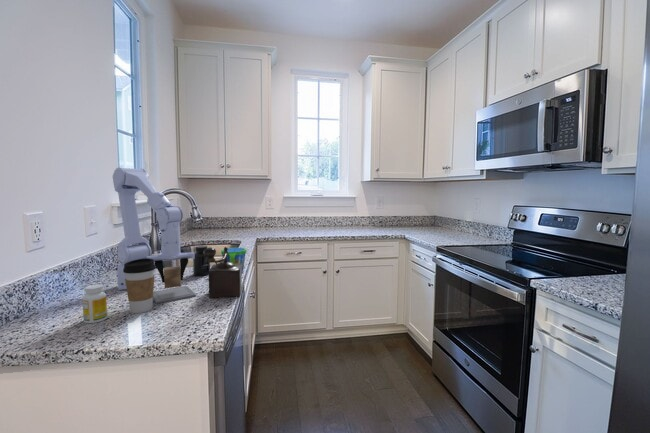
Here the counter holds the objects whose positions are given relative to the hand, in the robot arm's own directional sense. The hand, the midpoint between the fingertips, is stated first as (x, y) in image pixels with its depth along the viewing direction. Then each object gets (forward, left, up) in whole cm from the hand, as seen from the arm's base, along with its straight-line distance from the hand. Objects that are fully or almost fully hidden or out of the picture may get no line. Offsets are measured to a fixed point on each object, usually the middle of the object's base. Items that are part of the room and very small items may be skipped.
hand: (172, 280), depth 109 cm
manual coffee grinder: (+16, -8, -5) cm, 19 cm away
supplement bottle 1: (-20, -13, -5) cm, 24 cm away
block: (0, 0, -2) cm, 2 cm away
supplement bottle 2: (+12, +24, -5) cm, 27 cm away
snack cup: (+25, +21, -5) cm, 33 cm away
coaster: (0, 0, -5) cm, 5 cm away
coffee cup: (-9, -10, -5) cm, 14 cm away
